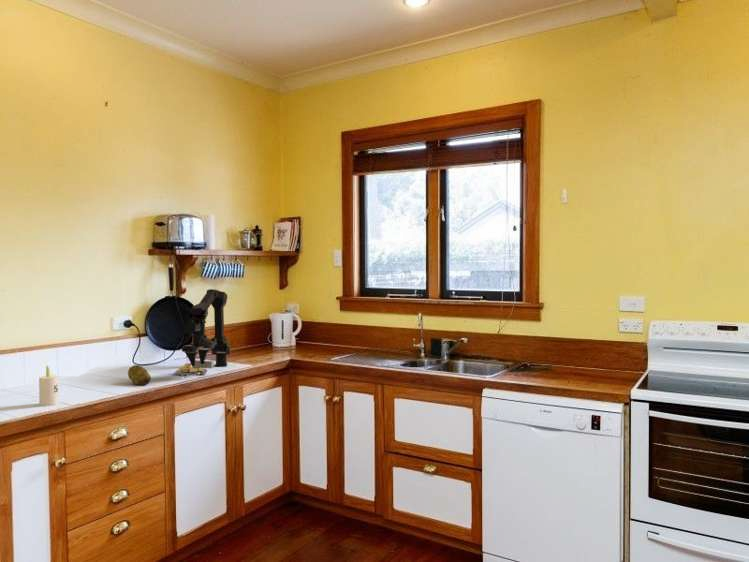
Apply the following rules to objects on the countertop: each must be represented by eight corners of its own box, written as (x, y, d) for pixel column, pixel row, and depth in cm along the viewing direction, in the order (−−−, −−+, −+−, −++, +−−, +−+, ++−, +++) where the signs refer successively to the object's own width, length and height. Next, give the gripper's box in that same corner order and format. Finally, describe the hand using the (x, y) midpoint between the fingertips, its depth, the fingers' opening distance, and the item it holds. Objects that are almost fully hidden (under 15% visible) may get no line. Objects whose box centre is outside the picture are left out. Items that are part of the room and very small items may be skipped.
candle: (50, 406, 216) (50, 367, 215) (35, 405, 217) (35, 366, 217) (62, 402, 222) (62, 364, 222) (47, 401, 223) (47, 363, 223)
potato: (132, 387, 250) (132, 369, 249) (126, 382, 260) (126, 364, 260) (152, 385, 254) (151, 367, 254) (145, 380, 265) (145, 363, 265)
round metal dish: (178, 370, 289) (178, 365, 289) (208, 369, 291) (208, 364, 291) (172, 376, 274) (172, 370, 274) (204, 375, 276) (204, 369, 276)
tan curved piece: (174, 371, 279) (174, 361, 279) (188, 367, 289) (188, 357, 289) (206, 373, 274) (206, 363, 274) (218, 369, 284) (218, 359, 284)
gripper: (202, 334, 264) (201, 368, 264) (223, 332, 282) (222, 363, 282) (181, 334, 267) (180, 367, 267) (203, 331, 285) (203, 362, 285)
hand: (197, 365), depth 275 cm, fingers open, 7 cm apart
